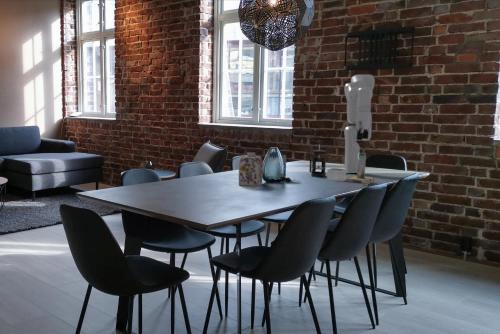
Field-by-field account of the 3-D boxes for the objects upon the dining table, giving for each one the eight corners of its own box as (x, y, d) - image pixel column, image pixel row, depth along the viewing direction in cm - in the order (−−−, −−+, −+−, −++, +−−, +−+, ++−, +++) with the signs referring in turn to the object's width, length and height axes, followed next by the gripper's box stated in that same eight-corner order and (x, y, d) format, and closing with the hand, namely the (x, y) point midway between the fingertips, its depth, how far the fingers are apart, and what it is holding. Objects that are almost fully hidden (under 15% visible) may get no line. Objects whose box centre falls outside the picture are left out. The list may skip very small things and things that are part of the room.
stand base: (331, 178, 314) (331, 167, 313) (349, 180, 308) (350, 169, 307) (323, 181, 304) (323, 169, 303) (342, 183, 297) (342, 171, 297)
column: (358, 177, 301) (359, 152, 299) (366, 178, 299) (367, 153, 297) (355, 178, 297) (356, 153, 295) (363, 179, 294) (364, 153, 293)
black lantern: (329, 178, 318) (331, 141, 315) (321, 179, 311) (322, 141, 308) (314, 176, 326) (315, 140, 323) (305, 177, 319) (306, 140, 316)
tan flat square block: (354, 181, 306) (354, 176, 306) (374, 182, 300) (374, 177, 299) (347, 183, 296) (347, 178, 295) (367, 185, 290) (367, 180, 289)
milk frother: (275, 178, 314) (276, 154, 312) (298, 180, 306) (299, 155, 304) (263, 180, 302) (264, 155, 300) (287, 183, 294) (288, 157, 292)
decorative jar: (258, 186, 280) (259, 154, 278) (238, 185, 282) (238, 153, 280) (262, 183, 292) (263, 152, 289) (242, 182, 294) (243, 151, 292)
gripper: (362, 109, 302) (361, 138, 304) (352, 109, 287) (350, 139, 290) (374, 109, 298) (373, 138, 301) (365, 110, 284) (363, 140, 286)
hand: (362, 139), depth 295 cm, fingers open, 9 cm apart
